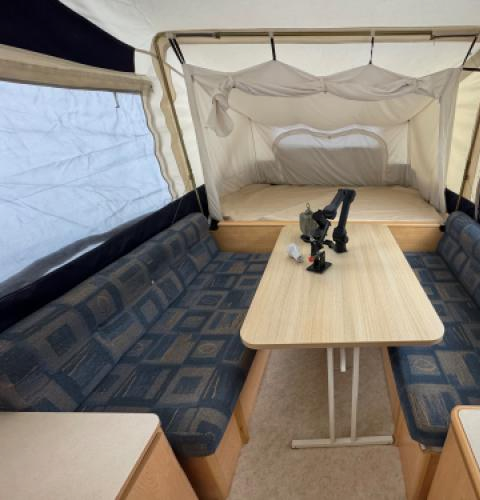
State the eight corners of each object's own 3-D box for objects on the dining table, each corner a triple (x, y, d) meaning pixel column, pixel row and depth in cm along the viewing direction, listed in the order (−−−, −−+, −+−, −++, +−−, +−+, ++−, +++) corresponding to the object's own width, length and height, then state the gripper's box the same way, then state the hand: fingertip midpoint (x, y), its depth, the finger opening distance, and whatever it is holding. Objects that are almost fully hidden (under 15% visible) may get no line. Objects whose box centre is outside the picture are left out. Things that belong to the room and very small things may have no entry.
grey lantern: (318, 240, 182) (317, 205, 171) (305, 242, 179) (304, 206, 168) (311, 233, 194) (310, 199, 183) (299, 234, 191) (298, 200, 180)
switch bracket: (320, 274, 141) (320, 257, 137) (306, 269, 145) (306, 253, 141) (331, 264, 150) (331, 249, 146) (318, 261, 154) (318, 245, 150)
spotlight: (298, 251, 163) (296, 240, 158) (307, 261, 156) (305, 250, 151) (286, 256, 160) (284, 245, 155) (295, 266, 153) (293, 256, 147)
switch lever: (312, 263, 136) (312, 258, 135) (307, 262, 138) (307, 256, 136) (322, 256, 145) (323, 251, 144) (318, 255, 146) (318, 250, 145)
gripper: (301, 219, 138) (289, 246, 134) (332, 225, 130) (321, 254, 126) (310, 229, 148) (299, 254, 144) (339, 235, 140) (329, 262, 136)
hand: (311, 256), depth 137 cm, fingers closed, pressing on switch lever
